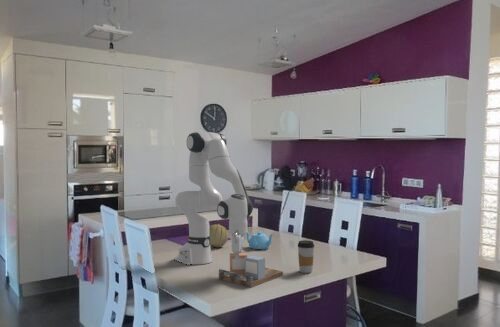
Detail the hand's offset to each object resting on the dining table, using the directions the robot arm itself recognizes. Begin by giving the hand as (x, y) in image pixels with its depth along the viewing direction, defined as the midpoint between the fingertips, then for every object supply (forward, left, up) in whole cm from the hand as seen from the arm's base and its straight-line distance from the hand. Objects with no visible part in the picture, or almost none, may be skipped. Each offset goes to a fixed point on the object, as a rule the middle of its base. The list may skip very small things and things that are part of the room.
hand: (238, 257), depth 202 cm
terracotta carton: (0, 0, -8) cm, 8 cm away
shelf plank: (+5, +4, -10) cm, 11 cm away
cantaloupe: (-54, +41, -10) cm, 68 cm away
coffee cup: (+20, +29, -10) cm, 36 cm away
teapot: (-31, +55, -10) cm, 64 cm away
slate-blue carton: (+11, 0, -8) cm, 13 cm away
